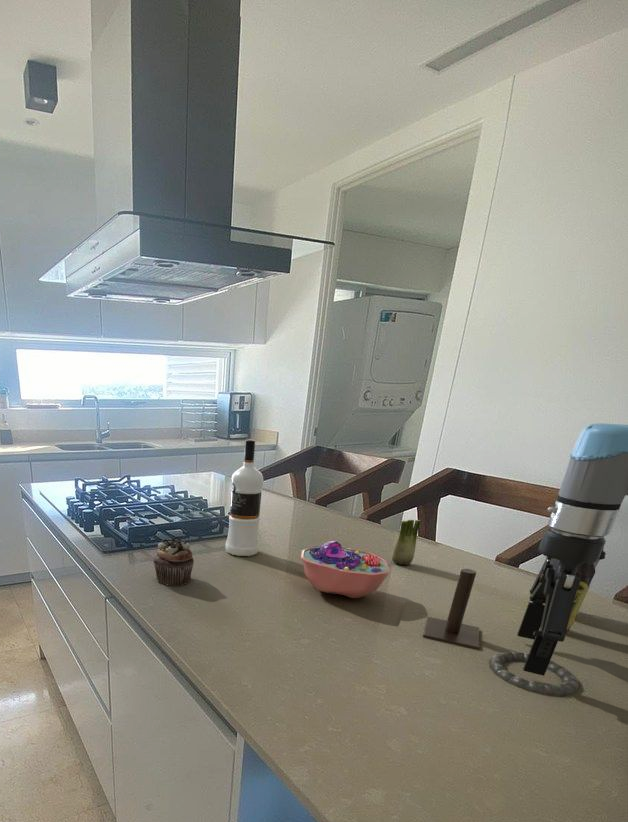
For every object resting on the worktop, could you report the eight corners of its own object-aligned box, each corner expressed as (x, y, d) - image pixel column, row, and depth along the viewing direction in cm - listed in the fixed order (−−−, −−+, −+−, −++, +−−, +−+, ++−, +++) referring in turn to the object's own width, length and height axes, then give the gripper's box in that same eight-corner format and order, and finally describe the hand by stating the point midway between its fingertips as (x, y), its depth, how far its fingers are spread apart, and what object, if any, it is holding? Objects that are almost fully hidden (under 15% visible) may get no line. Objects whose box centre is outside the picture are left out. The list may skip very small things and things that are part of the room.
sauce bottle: (525, 628, 96) (559, 530, 87) (535, 619, 99) (569, 525, 91) (564, 641, 91) (605, 539, 83) (574, 631, 95) (613, 533, 87)
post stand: (477, 634, 93) (497, 568, 88) (477, 654, 86) (499, 584, 80) (425, 623, 97) (442, 559, 92) (421, 641, 90) (439, 573, 84)
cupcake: (201, 579, 116) (203, 539, 112) (173, 590, 110) (174, 548, 106) (173, 569, 122) (173, 530, 118) (144, 579, 116) (144, 539, 112)
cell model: (353, 618, 99) (363, 565, 94) (280, 586, 113) (285, 539, 108) (400, 599, 108) (411, 550, 103) (326, 572, 122) (333, 528, 118)
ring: (569, 672, 81) (573, 661, 80) (581, 710, 72) (586, 699, 71) (486, 653, 87) (489, 643, 86) (488, 686, 77) (491, 675, 76)
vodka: (262, 557, 132) (272, 442, 120) (228, 557, 131) (235, 441, 119) (254, 546, 140) (263, 438, 128) (222, 547, 139) (229, 437, 127)
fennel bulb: (410, 561, 131) (420, 517, 126) (415, 567, 127) (426, 522, 122) (387, 560, 132) (396, 516, 127) (392, 566, 127) (402, 521, 122)
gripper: (537, 512, 85) (500, 620, 94) (557, 549, 65) (507, 682, 74) (590, 518, 82) (547, 629, 91) (628, 560, 62) (567, 697, 71)
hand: (529, 653), depth 82 cm, fingers open, 13 cm apart
